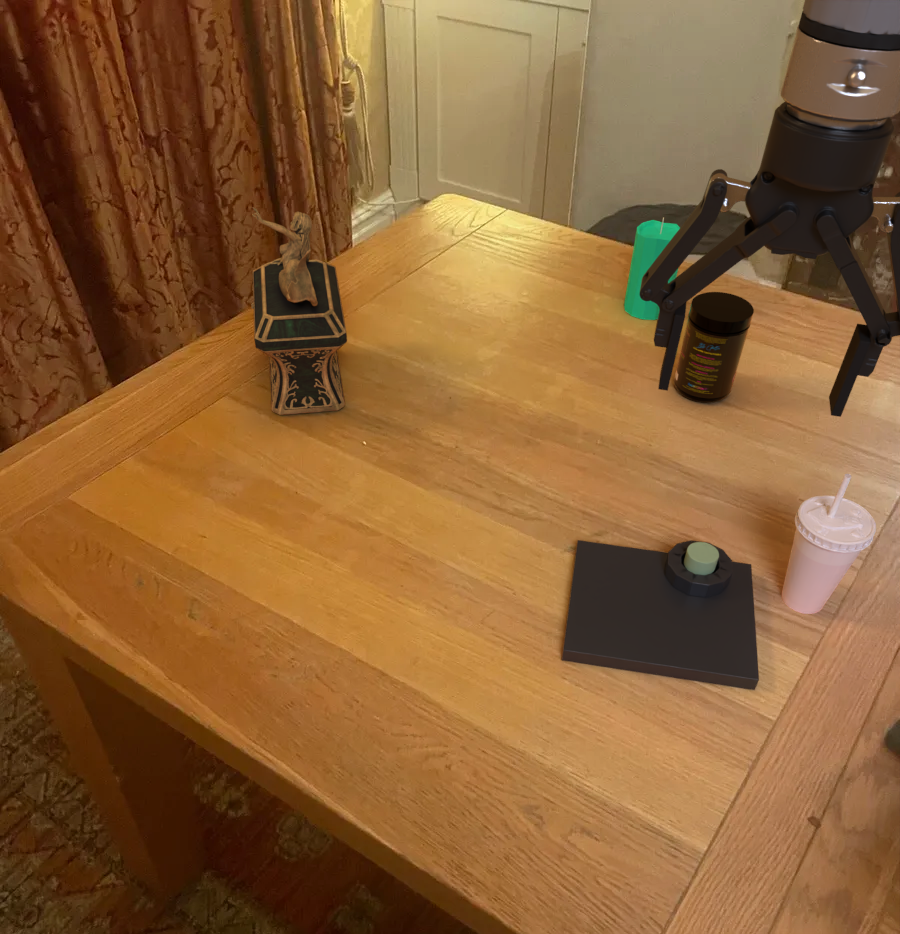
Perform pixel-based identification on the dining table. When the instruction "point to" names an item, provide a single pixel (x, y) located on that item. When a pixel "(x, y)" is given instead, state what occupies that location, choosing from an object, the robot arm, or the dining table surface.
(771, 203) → the robot arm
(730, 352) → the supplement container
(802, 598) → the smoothie
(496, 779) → the dining table surface
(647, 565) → the scale
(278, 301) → the decorative box
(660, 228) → the candle
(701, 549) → the button
